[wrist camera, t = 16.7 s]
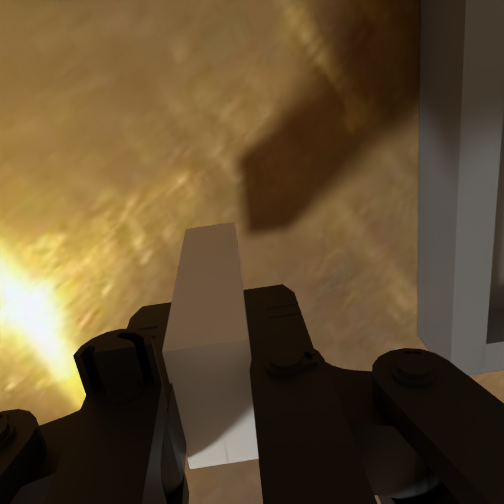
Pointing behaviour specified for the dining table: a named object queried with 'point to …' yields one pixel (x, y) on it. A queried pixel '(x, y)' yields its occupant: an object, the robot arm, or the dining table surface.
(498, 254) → the tray
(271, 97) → the dining table surface
